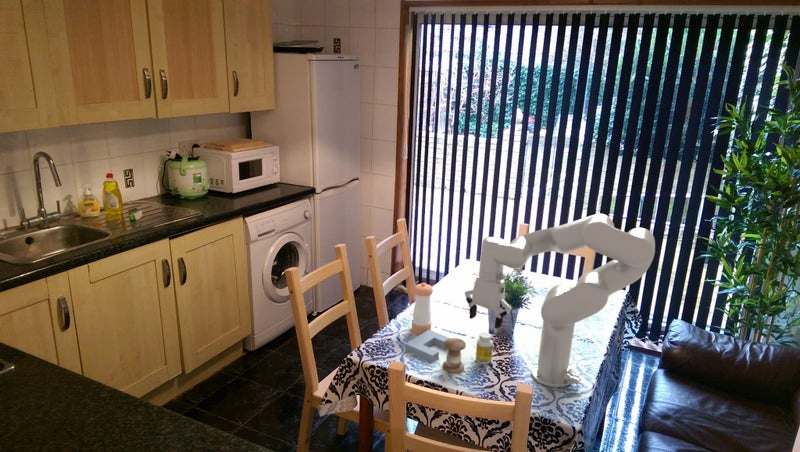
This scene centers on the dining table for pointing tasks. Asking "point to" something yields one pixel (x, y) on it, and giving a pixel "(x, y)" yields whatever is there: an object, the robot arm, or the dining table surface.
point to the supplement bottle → (484, 348)
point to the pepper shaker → (422, 309)
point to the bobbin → (454, 355)
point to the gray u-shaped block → (426, 345)
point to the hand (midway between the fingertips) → (485, 322)
